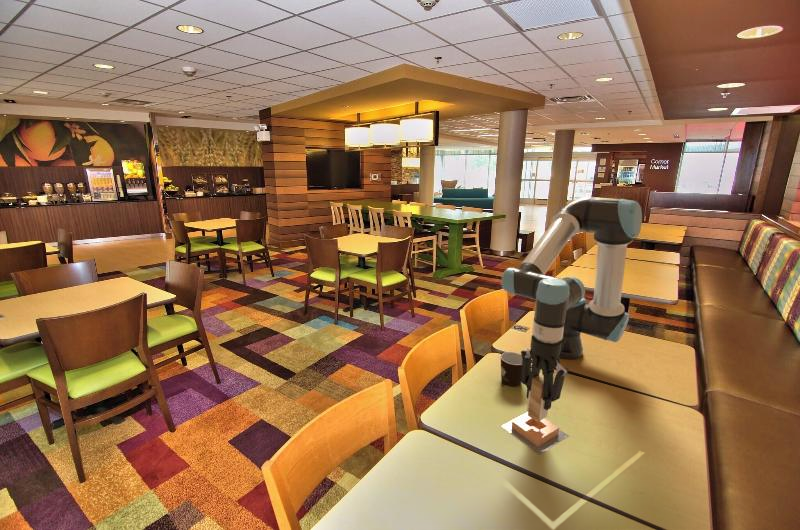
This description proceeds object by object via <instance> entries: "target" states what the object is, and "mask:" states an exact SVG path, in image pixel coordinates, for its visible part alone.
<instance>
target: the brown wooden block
mask: <svg viewBox="0 0 800 530" xmlns="http://www.w3.org/2000/svg"><path fill="white" fill-rule="evenodd" d="M542 397H544V376H543V375H541V374H539V375H538V376H536V377H534V378H532V385H531V393H530V401H529V410H528V411H527V412H528V416H529V417H530V418H532V419H533V420H535V421H536V422H538V421H540V419H539V411H540V404H541V398H542ZM543 419H544V418H543Z"/></svg>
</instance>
